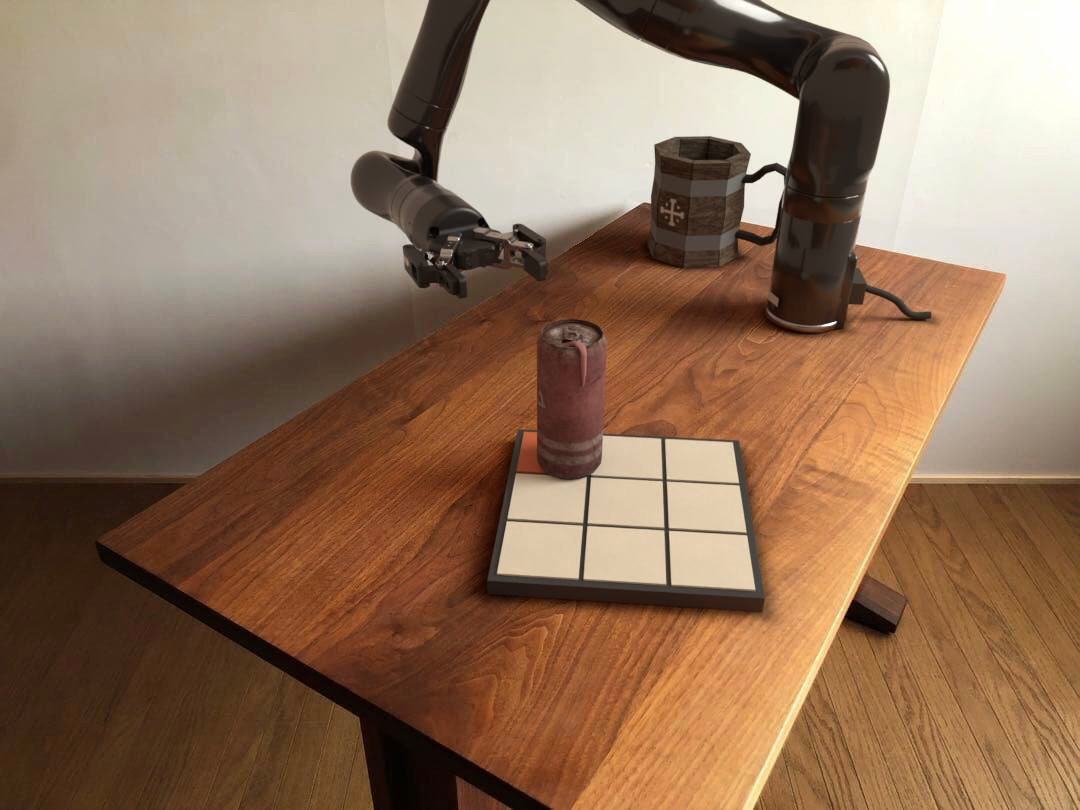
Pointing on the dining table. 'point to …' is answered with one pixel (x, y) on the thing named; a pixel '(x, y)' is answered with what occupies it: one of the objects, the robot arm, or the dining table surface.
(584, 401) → the can
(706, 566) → the board
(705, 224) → the mug
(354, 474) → the dining table surface
